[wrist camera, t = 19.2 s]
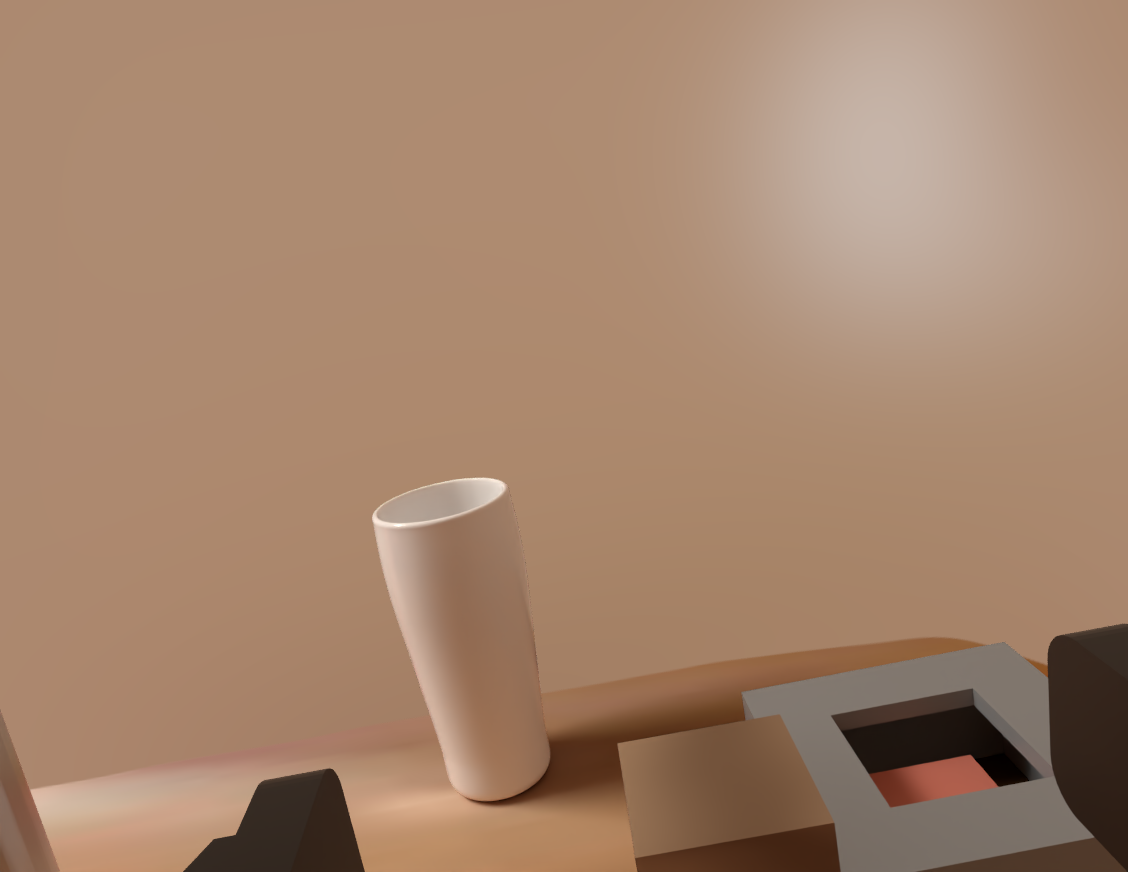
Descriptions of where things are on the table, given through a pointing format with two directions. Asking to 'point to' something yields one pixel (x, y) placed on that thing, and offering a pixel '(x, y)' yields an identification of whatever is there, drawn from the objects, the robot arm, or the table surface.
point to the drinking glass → (468, 629)
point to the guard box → (927, 734)
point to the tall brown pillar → (726, 802)
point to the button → (932, 781)
